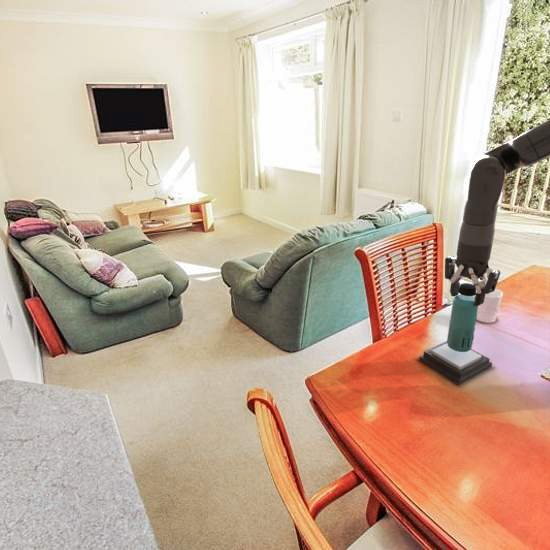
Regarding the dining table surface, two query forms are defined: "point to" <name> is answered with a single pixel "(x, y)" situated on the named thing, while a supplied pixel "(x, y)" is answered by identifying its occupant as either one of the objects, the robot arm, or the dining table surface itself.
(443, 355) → the pan
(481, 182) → the robot arm
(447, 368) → the scale
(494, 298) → the white cup
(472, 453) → the dining table surface
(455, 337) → the beverage bottle
